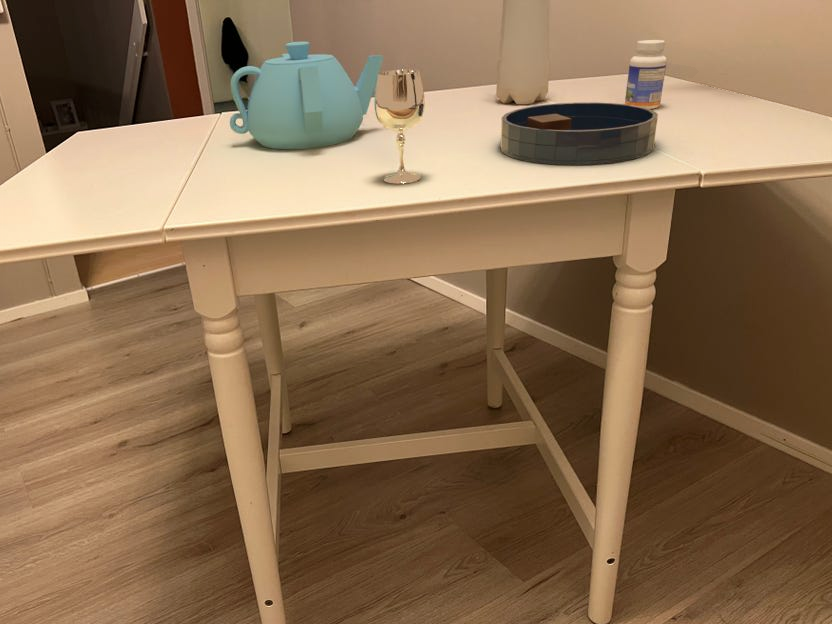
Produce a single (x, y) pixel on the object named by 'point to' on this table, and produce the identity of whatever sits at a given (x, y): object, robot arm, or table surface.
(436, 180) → the table surface
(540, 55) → the bottle
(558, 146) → the bowl
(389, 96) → the wineglass
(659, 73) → the pill bottle
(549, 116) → the block
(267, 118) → the teapot
